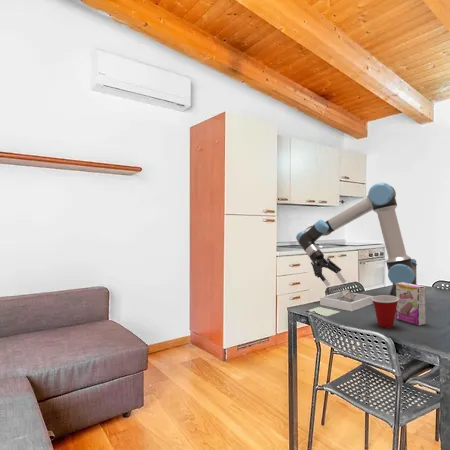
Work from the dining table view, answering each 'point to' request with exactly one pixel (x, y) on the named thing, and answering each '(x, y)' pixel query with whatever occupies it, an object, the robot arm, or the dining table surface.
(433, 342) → the dining table surface
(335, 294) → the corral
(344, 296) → the wireframe polyhedron
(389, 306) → the plastic cup
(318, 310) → the pad
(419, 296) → the candy bar box
